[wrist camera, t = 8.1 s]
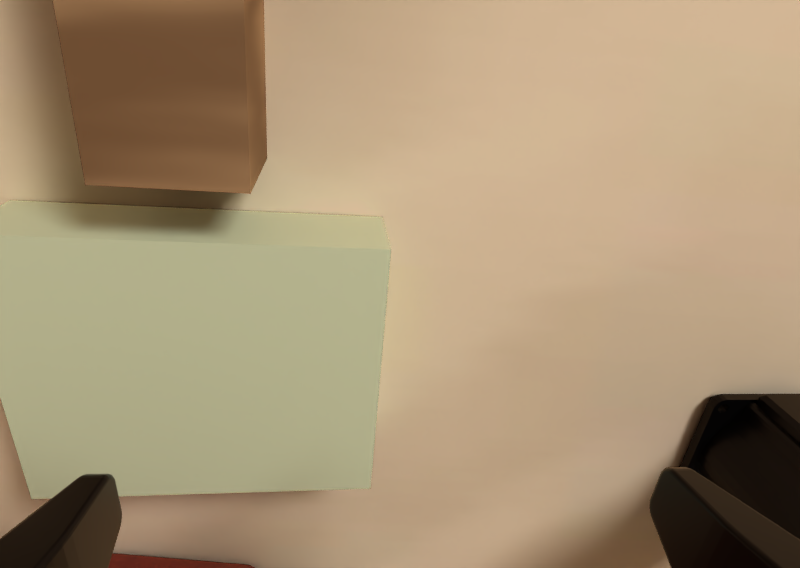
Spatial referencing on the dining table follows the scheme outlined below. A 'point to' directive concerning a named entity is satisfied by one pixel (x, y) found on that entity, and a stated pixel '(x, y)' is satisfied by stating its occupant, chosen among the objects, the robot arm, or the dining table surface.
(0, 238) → the block
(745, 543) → the robot arm
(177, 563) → the plant pot
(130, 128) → the walnut block
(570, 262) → the dining table surface
